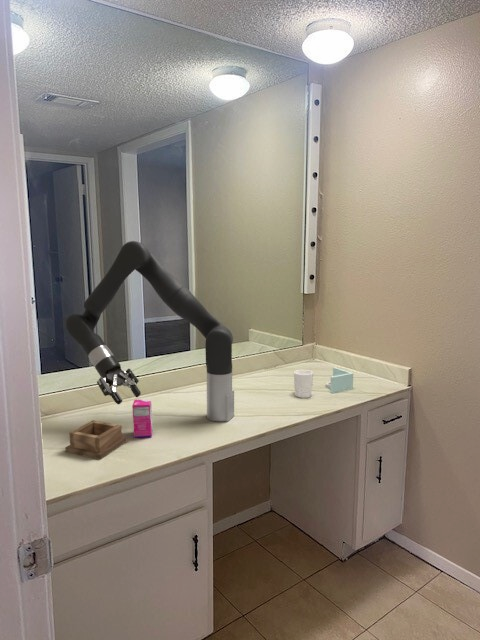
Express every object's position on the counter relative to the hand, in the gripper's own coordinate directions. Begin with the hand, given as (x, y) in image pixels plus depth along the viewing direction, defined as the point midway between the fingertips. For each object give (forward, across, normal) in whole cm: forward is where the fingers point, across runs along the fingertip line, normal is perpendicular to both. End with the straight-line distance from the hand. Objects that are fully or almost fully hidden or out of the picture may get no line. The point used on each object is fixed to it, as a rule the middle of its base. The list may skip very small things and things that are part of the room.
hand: (129, 399), depth 163 cm
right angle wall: (+37, +83, -20) cm, 93 cm away
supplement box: (+12, 0, +4) cm, 13 cm away
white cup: (+32, +66, -16) cm, 75 cm away
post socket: (+8, -15, +8) cm, 19 cm away
